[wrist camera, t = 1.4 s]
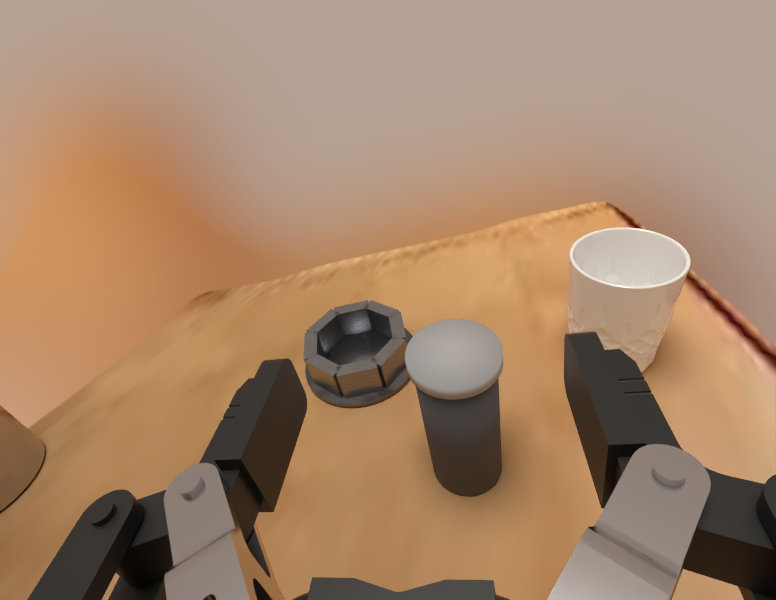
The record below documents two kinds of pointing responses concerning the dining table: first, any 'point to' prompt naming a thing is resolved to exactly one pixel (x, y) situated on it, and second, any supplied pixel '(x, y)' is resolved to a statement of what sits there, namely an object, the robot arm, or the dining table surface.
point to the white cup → (625, 288)
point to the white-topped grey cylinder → (459, 401)
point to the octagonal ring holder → (357, 354)
